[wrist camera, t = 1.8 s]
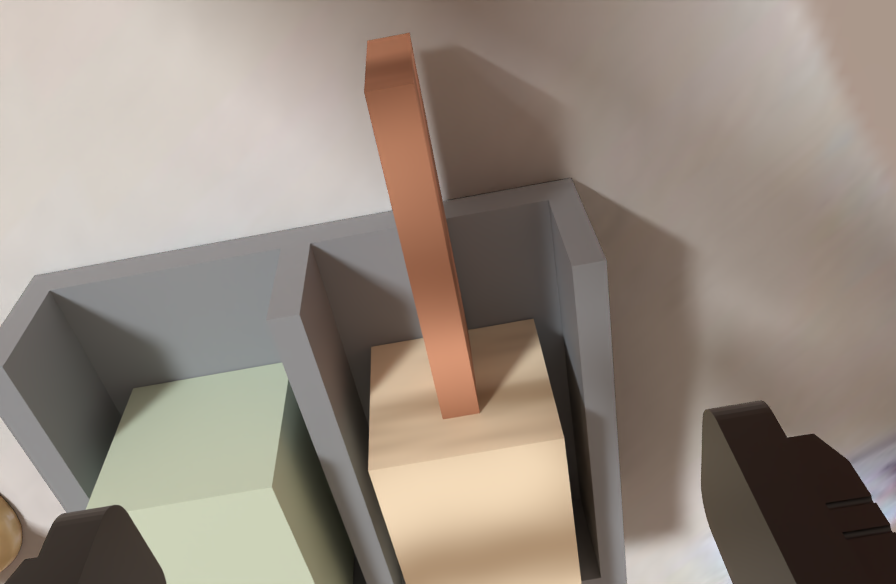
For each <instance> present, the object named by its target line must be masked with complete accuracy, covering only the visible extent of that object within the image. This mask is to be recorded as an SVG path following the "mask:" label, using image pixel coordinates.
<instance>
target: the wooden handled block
mask: <svg viewBox="0 0 896 584" xmlns="http://www.w3.org/2000/svg"><path fill="white" fill-rule="evenodd" d="M364 94H365V98H366V102H367V106H368V110H369V114H370V119H371V123H372V127H373V131H374V135H375V139H376V143H377V148H378V152H379V156H380V160H381V164H382V168H383V173H384V177H385V181H386V185H387V189H388V193H389V198H390V202H391V206H392V210H393V214H394V218H395V223H396V227H397V231H398V235H399V239H400V243H401V247H402V252H403V256H404V260H405V264H406V268H407V272H408V277H409V281H410V285H411V289H412V293H413V297H414V302H415V306H416V310H417V314H418V318H419V322H420V327H421V331H422V335H423V338H419V339H413V340H408V341H402V342H396V343H390V344H385V345H379V346H373V347H371V375H370V417H369V459H368V472H369V475H370V478H371V481H372V484H373V487H374V490H375V493H376V496H377V499H378V502H379V505H380V508H381V511H382V514H383V517H384V520H385V523H386V526H387V529H388V532H389V535H390V538H391V541H392V544H393V547H394V550H395V553H396V556H397V559H398V562H399V565H400V568H401V571H402V574H403V577H404V580H405V583H406V584H581V575H580V567H579V558H578V550H577V541H576V533H575V525H574V516H573V508H572V499H571V491H570V482H569V474H568V465H567V457H566V449H565V440H564V435H563V431H562V427H561V424H560V420H559V416H558V412H557V408H556V404H555V400H554V396H553V392H552V389H551V385H550V381H549V377H548V373H547V369H546V365H545V361H544V357H543V354H542V350H541V346H540V342H539V338H538V334H537V330H536V326H535V323H534V319H528V320H522V321H517V322H511V323H505V324H499V325H494V326H488V327H482V328H476V329H471V330H468V328H467V323H466V318H465V313H464V308H463V303H462V298H461V292H460V287H459V282H458V277H457V272H456V267H455V262H454V257H453V252H452V247H451V242H450V237H449V231H448V226H447V221H446V216H445V211H444V206H443V201H442V196H441V191H440V186H439V181H438V176H437V170H436V165H435V160H434V155H433V150H432V145H431V140H430V135H429V130H428V125H427V120H426V115H425V109H424V104H423V99H422V94H421V89H420V84H419V79H418V74H417V69H416V64H415V59H414V54H413V48H412V43H411V38H410V33H406V34H400V35H395V36H390V37H385V38H380V39H374V40H369V41H367V56H366V72H365V88H364Z"/></svg>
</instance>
